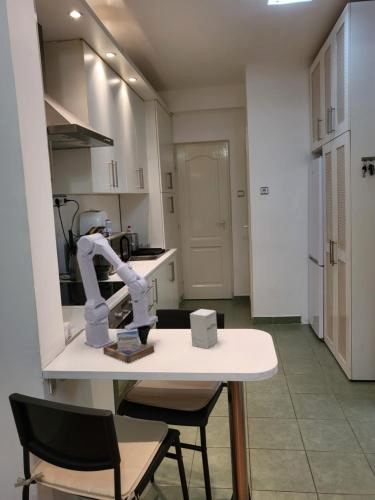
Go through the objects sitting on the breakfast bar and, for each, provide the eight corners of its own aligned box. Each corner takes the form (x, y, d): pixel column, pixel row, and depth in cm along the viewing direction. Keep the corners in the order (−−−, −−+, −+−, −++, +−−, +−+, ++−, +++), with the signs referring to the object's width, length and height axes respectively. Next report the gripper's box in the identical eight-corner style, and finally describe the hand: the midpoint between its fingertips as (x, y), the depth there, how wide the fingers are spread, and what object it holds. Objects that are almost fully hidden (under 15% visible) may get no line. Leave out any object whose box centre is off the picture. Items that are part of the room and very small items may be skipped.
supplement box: (207, 349, 151) (205, 316, 149) (191, 345, 155) (189, 313, 154) (218, 342, 157) (216, 310, 155) (202, 339, 161) (200, 308, 159)
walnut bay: (103, 353, 154) (103, 347, 154) (129, 343, 162) (128, 337, 162) (128, 363, 143) (127, 356, 143) (154, 352, 152) (153, 345, 151)
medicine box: (118, 355, 151) (116, 333, 149) (118, 351, 155) (116, 329, 154) (140, 353, 152) (137, 330, 151) (139, 348, 156) (137, 326, 155)
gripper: (132, 317, 148) (135, 352, 150) (161, 306, 158) (164, 340, 160) (120, 314, 153) (123, 348, 155) (149, 304, 163) (152, 336, 165)
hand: (143, 344), depth 158 cm, fingers closed
